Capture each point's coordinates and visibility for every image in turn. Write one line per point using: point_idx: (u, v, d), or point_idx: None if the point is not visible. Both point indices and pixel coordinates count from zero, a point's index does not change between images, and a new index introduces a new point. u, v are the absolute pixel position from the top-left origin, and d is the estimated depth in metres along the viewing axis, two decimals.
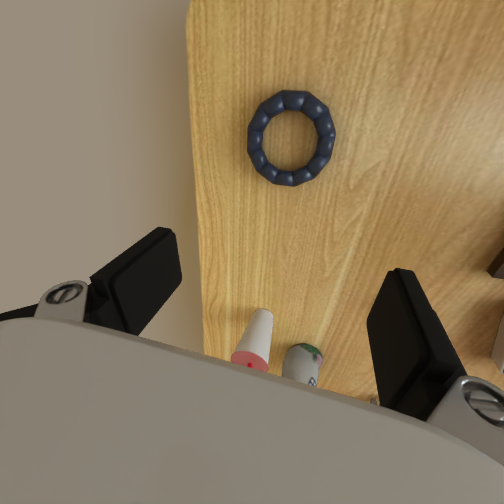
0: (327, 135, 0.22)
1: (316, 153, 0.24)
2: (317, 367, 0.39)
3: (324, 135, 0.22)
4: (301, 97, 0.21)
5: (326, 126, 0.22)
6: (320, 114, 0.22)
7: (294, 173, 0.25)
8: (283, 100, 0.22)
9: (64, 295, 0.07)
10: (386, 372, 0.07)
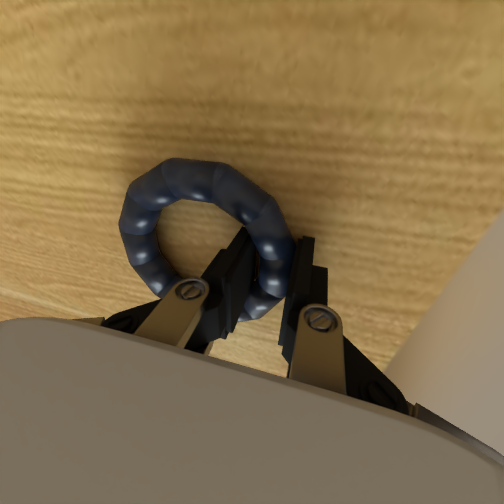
0: None
1: None
2: None
3: None
4: (278, 290, 0.11)
5: None
6: (250, 315, 0.12)
7: (150, 265, 0.12)
8: (274, 261, 0.10)
9: (189, 290, 0.08)
10: None
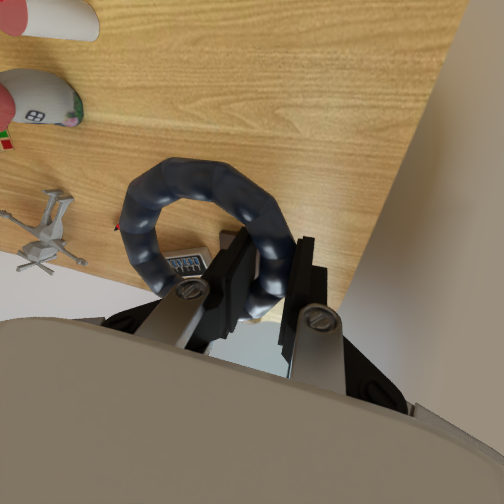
0: None
1: None
2: (60, 120, 0.32)
3: None
4: (278, 290, 0.11)
5: None
6: (250, 314, 0.12)
7: (151, 265, 0.12)
8: (274, 261, 0.10)
9: (189, 291, 0.08)
10: None
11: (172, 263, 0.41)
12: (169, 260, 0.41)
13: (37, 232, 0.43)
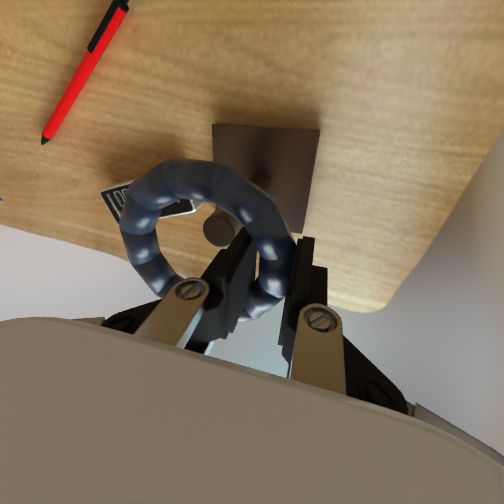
0: None
1: None
2: None
3: None
4: (278, 290, 0.11)
5: None
6: (250, 314, 0.12)
7: (151, 265, 0.12)
8: (274, 261, 0.10)
9: (189, 290, 0.08)
10: None
11: None
12: None
13: None
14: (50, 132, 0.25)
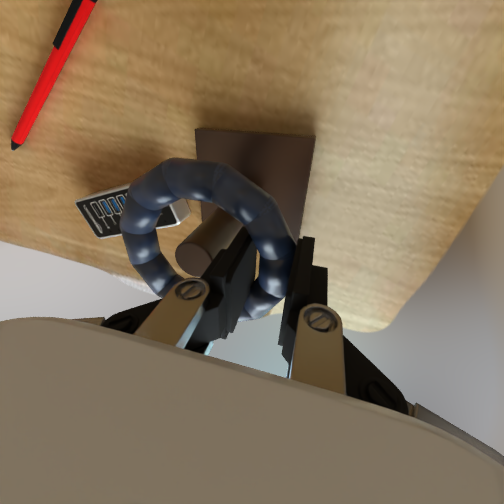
0: None
1: None
2: None
3: None
4: (278, 290, 0.11)
5: None
6: (250, 314, 0.12)
7: (151, 265, 0.12)
8: (274, 261, 0.10)
9: (189, 290, 0.08)
10: None
11: (112, 205, 0.22)
12: (106, 198, 0.22)
13: None
14: (20, 137, 0.23)
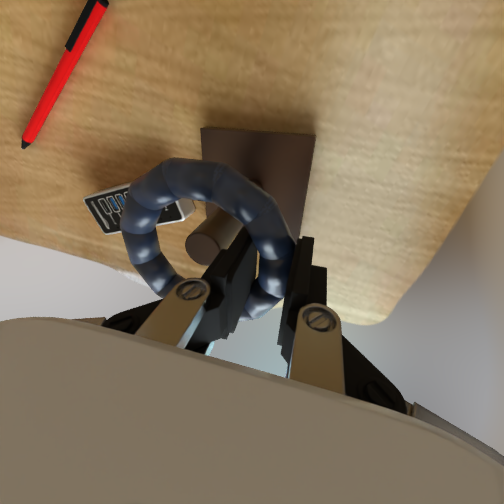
0: None
1: None
2: None
3: None
4: (277, 290, 0.11)
5: None
6: (250, 314, 0.12)
7: (151, 264, 0.12)
8: (274, 261, 0.10)
9: (190, 291, 0.08)
10: None
11: (119, 201, 0.23)
12: (113, 195, 0.23)
13: None
14: (31, 136, 0.24)
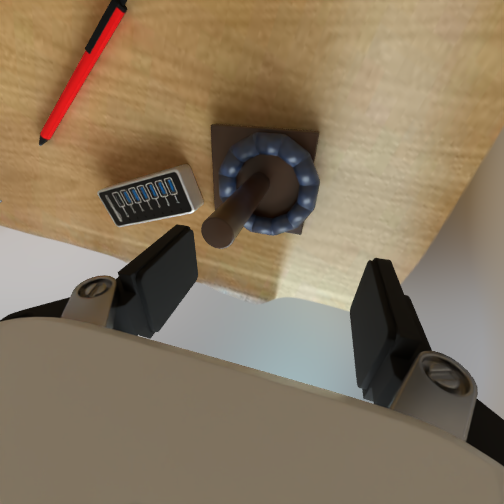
0: (272, 231, 0.22)
1: (255, 219, 0.22)
2: None
3: (272, 228, 0.22)
4: (309, 205, 0.20)
5: (280, 229, 0.22)
6: (291, 224, 0.21)
7: None
8: (308, 186, 0.19)
9: (94, 289, 0.08)
10: (363, 354, 0.08)
11: (132, 195, 0.25)
12: (127, 189, 0.24)
13: None
14: (49, 133, 0.25)
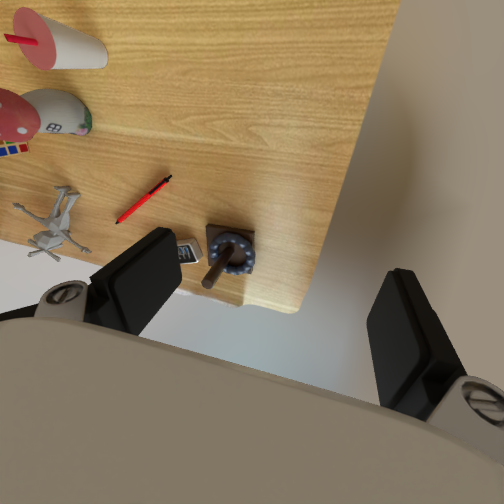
0: (235, 273, 0.45)
1: (227, 267, 0.45)
2: (73, 130, 0.38)
3: (235, 272, 0.45)
4: (250, 263, 0.43)
5: (239, 273, 0.45)
6: (244, 271, 0.44)
7: (216, 257, 0.45)
8: (249, 256, 0.42)
9: (64, 295, 0.07)
10: (386, 372, 0.07)
11: None
12: None
13: (47, 223, 0.49)
14: (122, 220, 0.48)
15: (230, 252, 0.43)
